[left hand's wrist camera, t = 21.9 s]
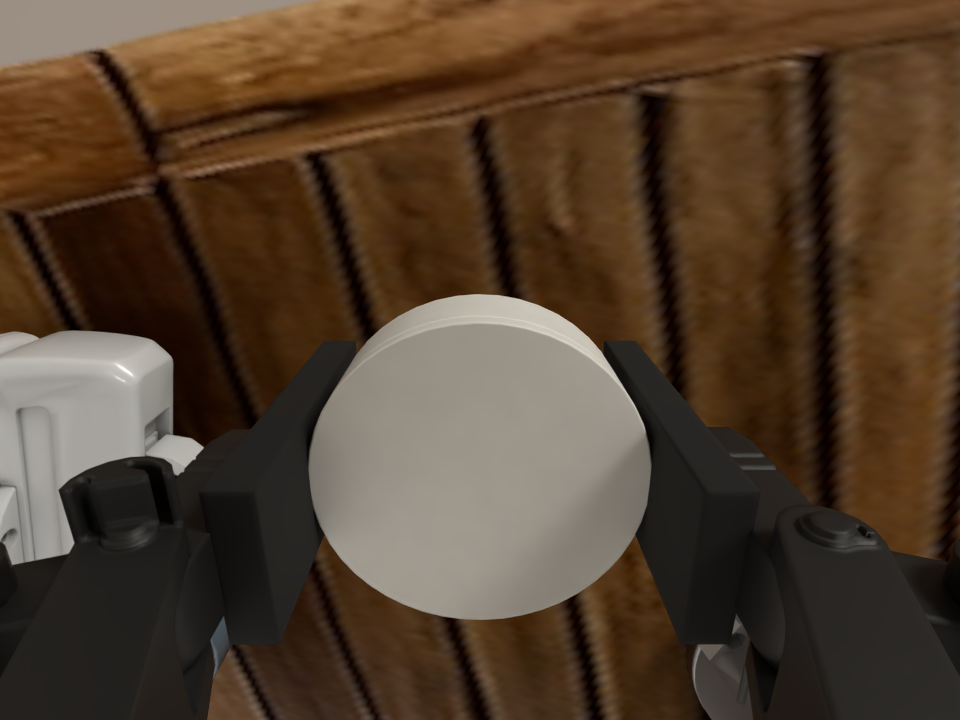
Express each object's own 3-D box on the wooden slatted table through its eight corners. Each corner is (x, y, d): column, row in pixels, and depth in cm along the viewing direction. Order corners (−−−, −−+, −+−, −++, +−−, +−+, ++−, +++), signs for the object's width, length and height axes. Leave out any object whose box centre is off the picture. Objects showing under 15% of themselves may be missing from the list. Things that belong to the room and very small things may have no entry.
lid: (317, 295, 11) (284, 325, 9) (636, 290, 11) (669, 318, 9) (349, 556, 13) (327, 622, 11) (615, 552, 13) (638, 618, 11)
